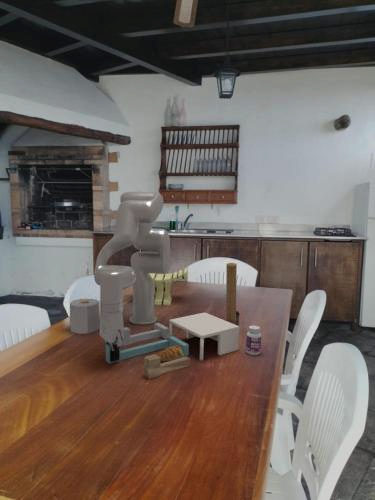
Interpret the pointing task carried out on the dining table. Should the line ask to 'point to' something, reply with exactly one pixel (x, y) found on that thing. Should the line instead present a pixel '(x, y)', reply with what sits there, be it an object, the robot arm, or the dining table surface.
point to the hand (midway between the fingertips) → (112, 358)
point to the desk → (209, 331)
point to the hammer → (231, 294)
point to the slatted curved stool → (166, 285)
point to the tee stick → (145, 334)
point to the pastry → (171, 353)
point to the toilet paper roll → (84, 316)
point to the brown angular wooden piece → (162, 365)
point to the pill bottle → (253, 340)
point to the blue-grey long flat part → (148, 348)
